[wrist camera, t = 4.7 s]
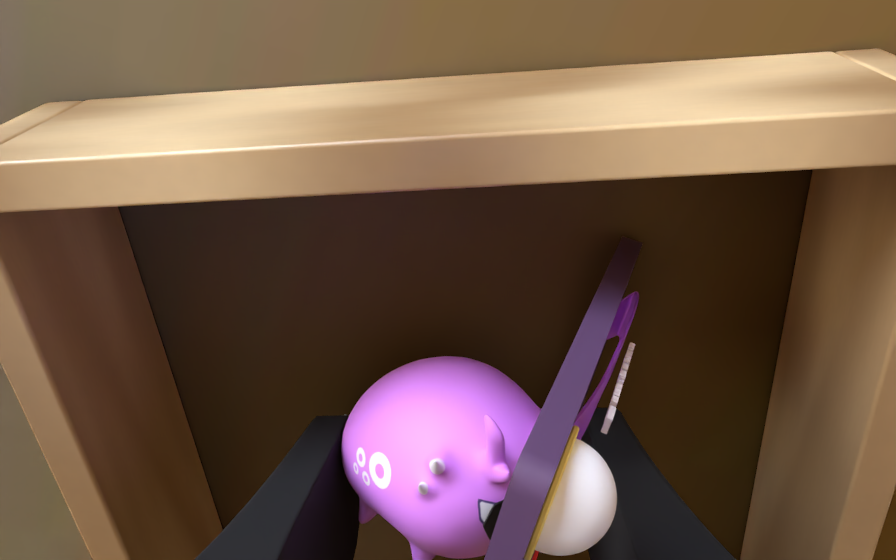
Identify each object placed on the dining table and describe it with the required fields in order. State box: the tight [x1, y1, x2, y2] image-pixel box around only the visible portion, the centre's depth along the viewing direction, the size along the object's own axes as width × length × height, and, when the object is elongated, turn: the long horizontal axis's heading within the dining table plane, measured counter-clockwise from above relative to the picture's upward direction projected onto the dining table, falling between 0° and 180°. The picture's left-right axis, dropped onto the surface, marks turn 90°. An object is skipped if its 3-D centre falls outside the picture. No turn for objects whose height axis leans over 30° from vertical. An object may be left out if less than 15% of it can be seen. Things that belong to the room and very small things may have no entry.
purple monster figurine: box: [341, 236, 643, 560], centre depth 12 cm, size 7×5×9 cm
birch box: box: [0, 49, 896, 560], centre depth 13 cm, size 13×13×3 cm
